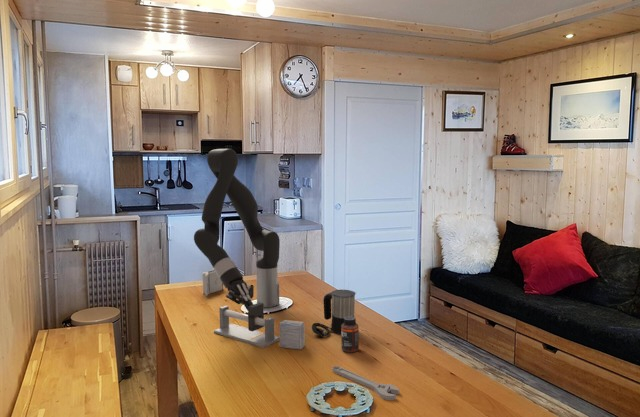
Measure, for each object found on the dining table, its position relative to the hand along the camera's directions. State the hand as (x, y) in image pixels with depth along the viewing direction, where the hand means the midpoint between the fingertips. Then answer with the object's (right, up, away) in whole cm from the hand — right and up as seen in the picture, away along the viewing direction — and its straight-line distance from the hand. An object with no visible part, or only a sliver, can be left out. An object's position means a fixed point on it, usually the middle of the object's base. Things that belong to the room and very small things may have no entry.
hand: (252, 310), depth 185 cm
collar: (+1, -6, 0) cm, 7 cm away
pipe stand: (-3, -10, +3) cm, 11 cm away
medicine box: (+15, -12, -6) cm, 20 cm away
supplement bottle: (+35, -12, -9) cm, 38 cm away
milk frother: (+30, -10, +7) cm, 32 cm away
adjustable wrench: (+38, -15, -34) cm, 53 cm away
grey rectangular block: (-27, -4, +61) cm, 67 cm away
